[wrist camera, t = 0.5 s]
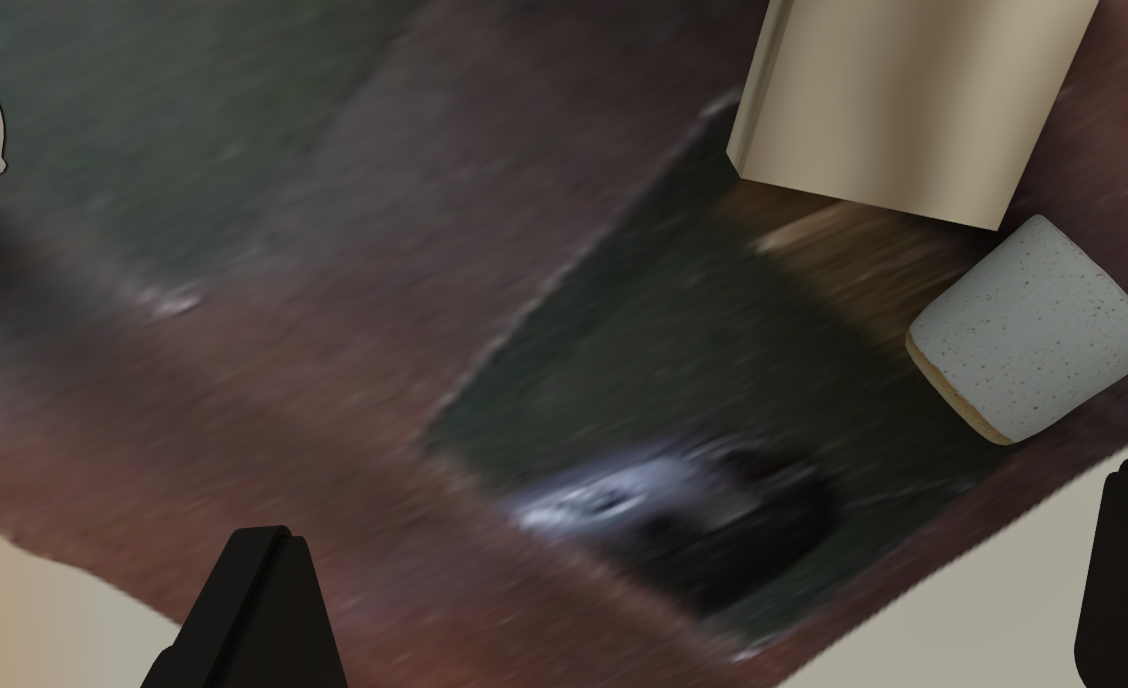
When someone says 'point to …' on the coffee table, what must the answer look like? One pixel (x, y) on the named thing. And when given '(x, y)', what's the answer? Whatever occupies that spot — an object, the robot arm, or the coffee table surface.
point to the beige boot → (0, 135)
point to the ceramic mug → (1024, 335)
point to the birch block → (905, 99)
